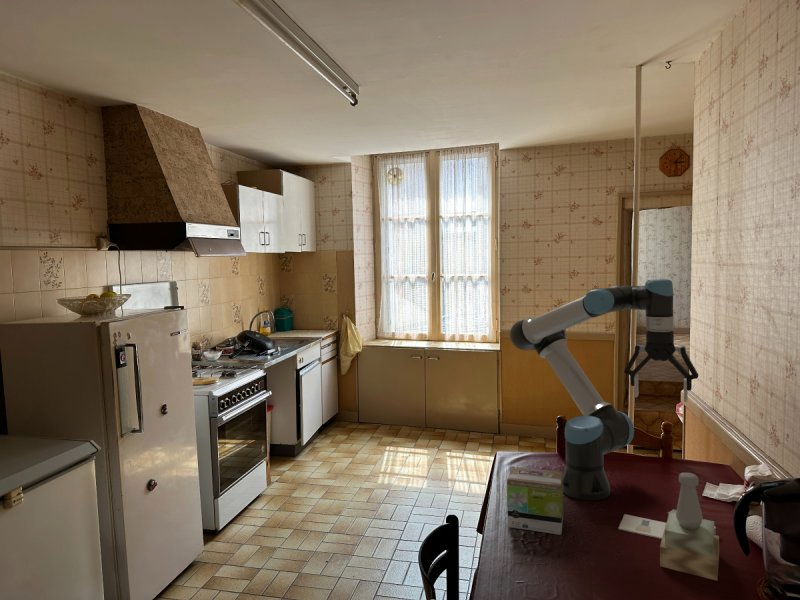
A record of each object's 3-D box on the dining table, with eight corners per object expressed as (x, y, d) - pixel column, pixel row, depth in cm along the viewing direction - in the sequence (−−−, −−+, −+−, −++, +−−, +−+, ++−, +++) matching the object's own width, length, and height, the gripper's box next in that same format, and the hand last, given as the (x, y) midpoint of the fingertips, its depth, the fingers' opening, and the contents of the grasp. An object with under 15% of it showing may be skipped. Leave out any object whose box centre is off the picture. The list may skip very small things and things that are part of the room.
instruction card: (618, 529, 145) (618, 527, 145) (624, 515, 152) (624, 513, 152) (666, 540, 138) (666, 538, 138) (670, 525, 146) (670, 523, 146)
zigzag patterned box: (660, 566, 127) (659, 530, 126) (665, 542, 137) (665, 510, 136) (717, 580, 120) (717, 543, 120) (719, 555, 130) (718, 520, 130)
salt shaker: (701, 522, 130) (701, 471, 129) (704, 533, 124) (703, 480, 123) (675, 518, 132) (674, 468, 131) (676, 529, 127) (676, 477, 126)
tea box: (507, 529, 148) (505, 478, 147) (512, 512, 157) (510, 465, 156) (562, 536, 143) (561, 484, 142) (564, 518, 152) (562, 469, 151)
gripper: (613, 330, 162) (615, 397, 163) (706, 333, 148) (706, 406, 150) (618, 327, 168) (619, 391, 169) (707, 329, 154) (708, 399, 156)
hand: (660, 398), depth 159 cm, fingers open, 13 cm apart
